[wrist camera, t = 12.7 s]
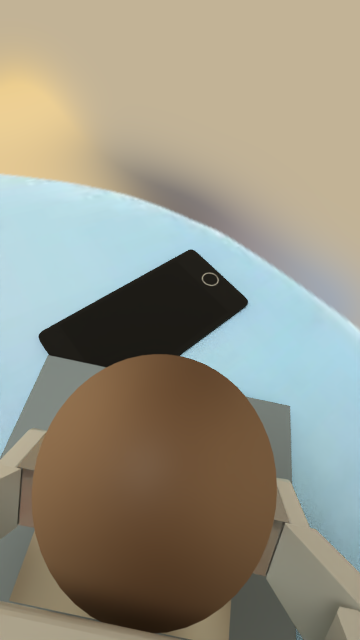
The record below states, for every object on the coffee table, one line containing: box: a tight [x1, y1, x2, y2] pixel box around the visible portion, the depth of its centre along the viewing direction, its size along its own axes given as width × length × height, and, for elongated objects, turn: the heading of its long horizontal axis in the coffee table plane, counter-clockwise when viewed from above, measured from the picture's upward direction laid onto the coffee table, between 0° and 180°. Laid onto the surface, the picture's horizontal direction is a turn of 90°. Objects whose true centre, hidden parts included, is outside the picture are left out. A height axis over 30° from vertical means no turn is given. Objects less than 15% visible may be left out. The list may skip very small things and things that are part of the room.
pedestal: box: [9, 531, 231, 640], centre depth 17 cm, size 10×10×4 cm
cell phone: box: [39, 250, 248, 367], centre depth 27 cm, size 9×18×1 cm, turn 130°
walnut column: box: [32, 354, 277, 633], centre depth 9 cm, size 5×5×8 cm
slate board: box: [0, 355, 296, 640], centre depth 19 cm, size 20×16×1 cm
